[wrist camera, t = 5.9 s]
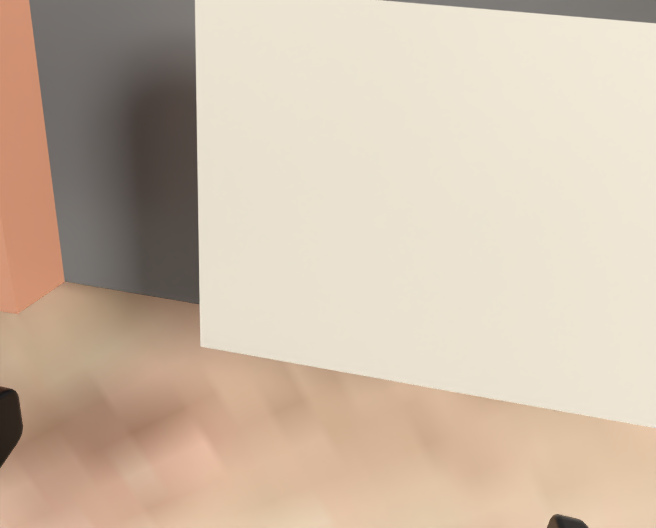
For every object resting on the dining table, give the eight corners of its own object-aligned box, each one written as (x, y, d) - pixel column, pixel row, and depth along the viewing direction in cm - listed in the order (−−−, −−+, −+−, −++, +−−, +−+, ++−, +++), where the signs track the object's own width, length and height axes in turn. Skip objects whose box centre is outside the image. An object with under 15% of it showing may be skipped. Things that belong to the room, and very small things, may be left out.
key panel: (621, 345, 19) (640, 378, 18) (-121, 225, 24) (-168, 242, 22) (758, -44, 14) (803, -54, 13) (-210, -109, 19) (-280, -123, 17)
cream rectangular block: (627, 347, 15) (675, 431, 12) (245, 286, 17) (200, 346, 14) (739, 35, 12) (844, 39, 9) (252, -6, 14) (194, -16, 10)
